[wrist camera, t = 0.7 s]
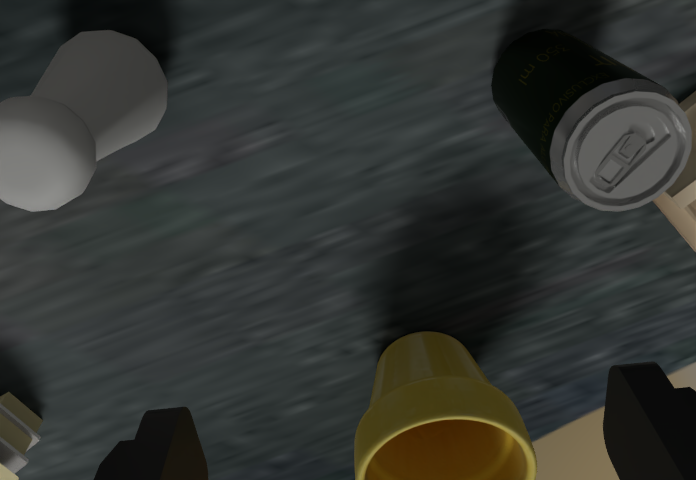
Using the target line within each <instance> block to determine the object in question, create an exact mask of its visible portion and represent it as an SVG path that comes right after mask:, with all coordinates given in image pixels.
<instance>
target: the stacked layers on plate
mask: <svg viewBox="0 0 696 480" xmlns="http://www.w3.org/2000/svg"><path fill="white" fill-rule="evenodd" d="M42 421H43V420H42V419H41V418H39V417H38V416H37V415H36V414H35V413H34V412H32V411H31V410H30V409H29V408H28V407H26V406H25V405H24V404H23V403H22V402H20V401H19V400H18V399H17V398H16V397H14V396H13V395H12V394H11V393H10V392H7V393H6V394H4V395H2V396H0V480H18V479H19V478H18V477H17V476H16V475H15V473H16V472H17V471H19V470H20V469H21V468H22V467H24V466H25V465H26V464H27V462H28V458H26V457H25V456H24V454H25V452H26V451H27V450H28V449H30V448H31V447H32V446H33V445H35V444H36V443H37V442H38V441H39V440H40V438H41V437H40V436H39V435H38V434H37V433H36V432H37V430H38V429H39V427H40V425H41V423H42Z"/></svg>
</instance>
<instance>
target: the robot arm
mask: <svg viewBox="0 0 696 480" xmlns="http://www.w3.org/2000/svg"><path fill="white" fill-rule="evenodd" d="M603 432H604V440H605V444H606V449H607V452H608V455H609V457H610V460H611V462H612V464H613V466H614V468H615V470H616V472H617V475H618V477H619V479H620V480H696V391H695V390H693V389H692V388H690V387H686V388H674V387H673V385H672V384H671V382H670V381H669V379H668V378H667V376H666V375H665V373H664V372H663V370H662V369H661V368H660V366H659V365H658V364H657V363H655V362H644V363H634V364H624V365H614V366H612V367H611V368H610V370H609V375H608V384H607V393H606V402H605V411H604V421H603ZM94 480H208V469H207V463H206V459H205V456H204V453H203V450H202V447H201V444H200V441H199V437H198V434H197V431H196V428H195V425H194V422H193V419H192V416H191V413H190V411H189V409H188V408H187V407H178V408H168V409H158V410H148V411H146V412H145V414H144V415H143V418H142V420H141V423H140V426H139V428H138V431H137V434H136V437H135V439H134V440H127V441H120V442H119V443H118V444H117V445H116V446H115V447H114V449H113V450H112V451H111V452H110V453H109V454H108V456H107V457H106V458H105V459H104V460H103V461H102V463H101V464H100V466H99V468H98V471H97V473H96V475H95V478H94Z"/></svg>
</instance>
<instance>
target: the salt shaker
mask: <svg viewBox="0 0 696 480" xmlns="http://www.w3.org/2000/svg"><path fill="white" fill-rule="evenodd" d="M167 86H168V81H167V79H166V77H165V75H164V73H163V71H162V69H161V67H160V65H159V63H158V60H157V58H156V57H155V56H154V55H153V54H152V53H151V52H150V51H149V50H148V49H147V48H145V47H144V46H143V45H142V44H141V43H140V42H139V41H138V40H137V39H135V38H133V37H130V36H127V35H124V34H121V33H118V32H115V31H112V30H102V31H87V32H80V33H79V34H77V35H76V36H75V37H73V38H72V39H70V40H69V41H67V42H66V43H65V44H63V45H62V46H60V48H59V50H58V51H57V53H56V55H55V56H54V58H53V60H52V61H51V63H50V65H49V66H48V68H47V69H46V71H45V73H44V74H43V76H42V78H41V79H40V81H39V83H38V84H37V86H36V88H35V89H34V91H33V93H32V94H31V96H24V97H11V98H9V99H7V100H4V101H2V102H1V103H0V199H1V200H3V201H4V202H5V203H7V204H9V205H13V206H16V207H19V208H22V209H25V210H28V211H31V212H33V211H44V210H55V209H57V208H59V207H60V206H62V205H64V204H66V203H67V202H69V201H71V200H72V199H74V198H76V197H77V196H79V195H81V194H82V193H83V192H84V190H85V189H86V187H87V185H88V183H89V181H90V179H91V177H92V175H93V173H94V171H95V170H96V161H98V160H100V159H102V158H104V157H105V156H107V155H109V154H111V153H113V152H115V151H117V150H119V149H121V148H123V147H125V146H127V145H129V144H131V143H133V142H135V141H137V140H139V139H140V138H142V137H144V136H145V135H147V134H149V133H150V132H152V131H154V130H155V129H156V127H157V126H158V124H159V122H160V120H161V118H162V116H163V114H164V112H165V111H166V107H167Z"/></svg>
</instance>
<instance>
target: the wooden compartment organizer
mask: <svg viewBox="0 0 696 480" xmlns="http://www.w3.org/2000/svg"><path fill="white" fill-rule="evenodd" d="M679 106H680V108H681V109H682V110H683V111H684V112H685V113H686V116H687V118H688V121H689V124H690V127H691V129H692V146H691V151H690V154H689V157H688V160H687V163H686V166H685V168H684V169H683V171H682V172H681V174H680V175H679V176H678V178H677V179H676V181H675V182H674V184H673V185H672V186H670V187H669V188H668V189H667V190H666V191H665V192H663V193H662V194H661V195H660V196H659V197H658V198H656V199H654V200H652V201H653V202H654V203H655V204H656V205H657V207H658V208H659V209H660V210H661V211H662V213H663V214H664V215H665V216H666V217H667V219H668V220H669V221H670V222H671V223H672V225H673V226H674V227H675V228H676V229H677V231H678V232H679V233H680V234H681V235H682V237H683V238H684V239H685V240H686V241H687V243H688V244H689V245H690V246H691V247H692V249H693V250H694V251H695V252H696V91H695V92H694V93H692V94H691V95H690V96H689V97H687V98H686V99H685V100H684V101H682V102H681V103H680V104H679Z"/></svg>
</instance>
